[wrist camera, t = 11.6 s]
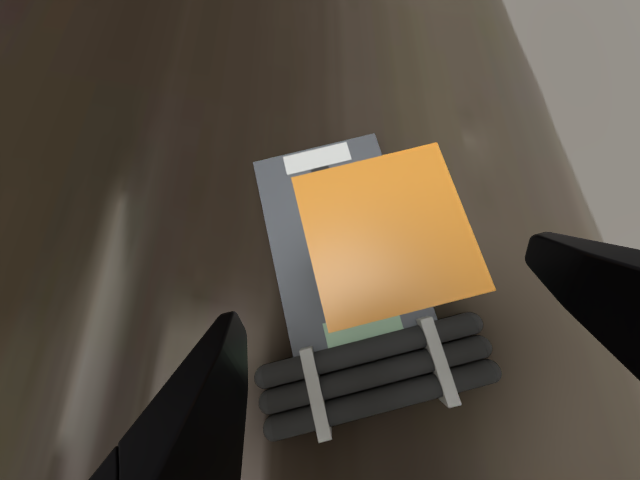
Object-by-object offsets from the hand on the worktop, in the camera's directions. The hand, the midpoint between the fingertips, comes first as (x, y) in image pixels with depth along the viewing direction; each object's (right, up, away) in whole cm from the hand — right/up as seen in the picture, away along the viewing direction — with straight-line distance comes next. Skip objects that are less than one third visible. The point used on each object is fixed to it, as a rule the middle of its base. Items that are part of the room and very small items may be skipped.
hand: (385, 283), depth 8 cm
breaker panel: (-1, +1, +12) cm, 12 cm away
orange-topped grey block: (0, -1, +10) cm, 11 cm away
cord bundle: (+2, -7, +10) cm, 12 cm away
